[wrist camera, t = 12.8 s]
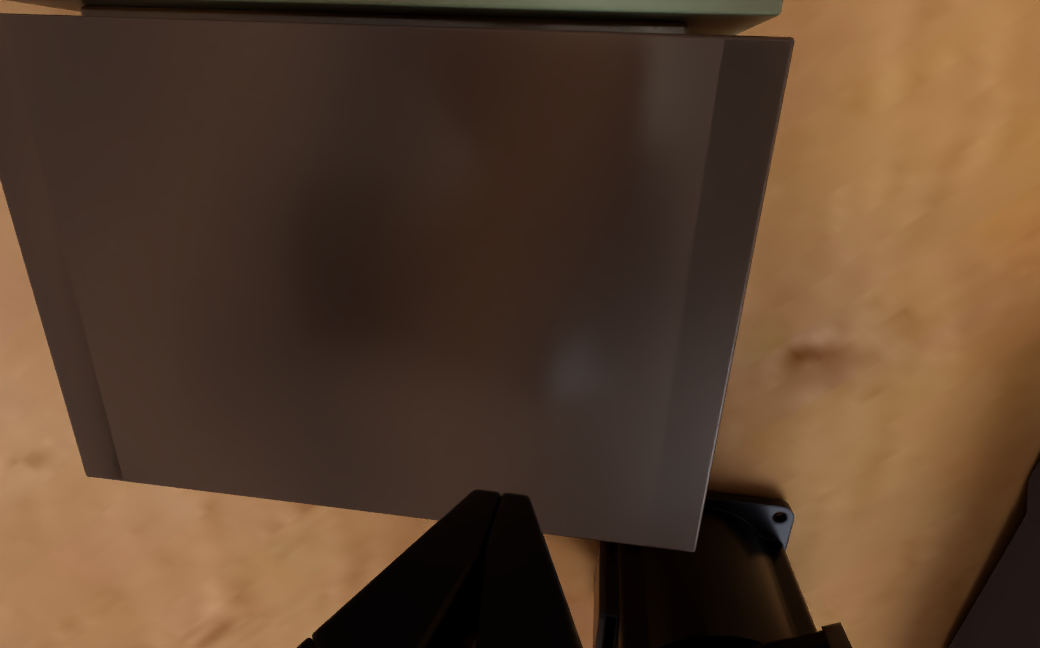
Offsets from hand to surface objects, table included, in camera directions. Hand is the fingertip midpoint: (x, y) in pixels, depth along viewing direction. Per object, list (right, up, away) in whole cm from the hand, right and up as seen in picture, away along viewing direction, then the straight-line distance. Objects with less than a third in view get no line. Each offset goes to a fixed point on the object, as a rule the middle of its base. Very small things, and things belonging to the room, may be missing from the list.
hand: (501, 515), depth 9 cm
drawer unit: (-1, +7, +11) cm, 13 cm away
